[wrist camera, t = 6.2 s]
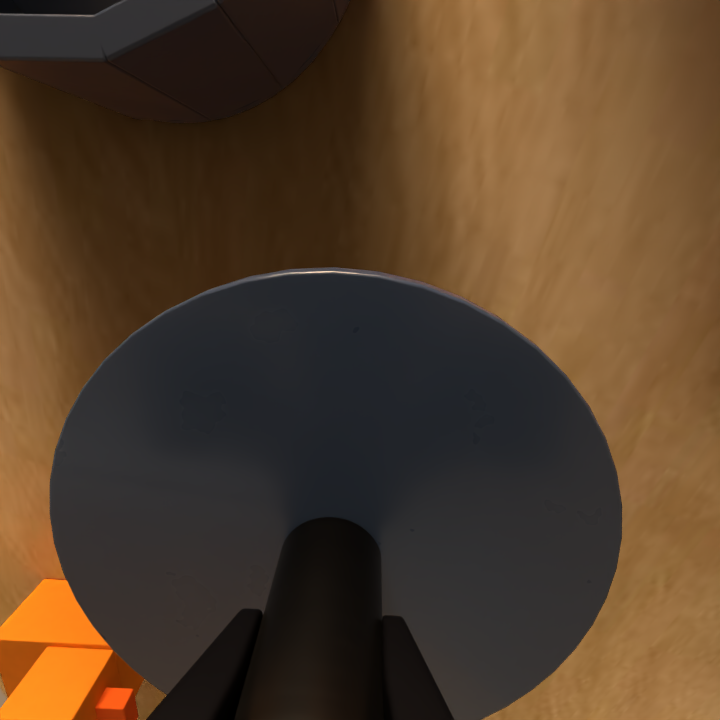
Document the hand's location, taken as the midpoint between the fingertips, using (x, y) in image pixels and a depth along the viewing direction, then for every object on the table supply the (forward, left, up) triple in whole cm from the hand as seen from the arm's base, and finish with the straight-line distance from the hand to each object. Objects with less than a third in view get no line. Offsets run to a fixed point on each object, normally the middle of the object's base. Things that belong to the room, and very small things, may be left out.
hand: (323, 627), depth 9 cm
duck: (-12, -11, -10) cm, 19 cm away
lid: (0, 0, -3) cm, 2 cm away
